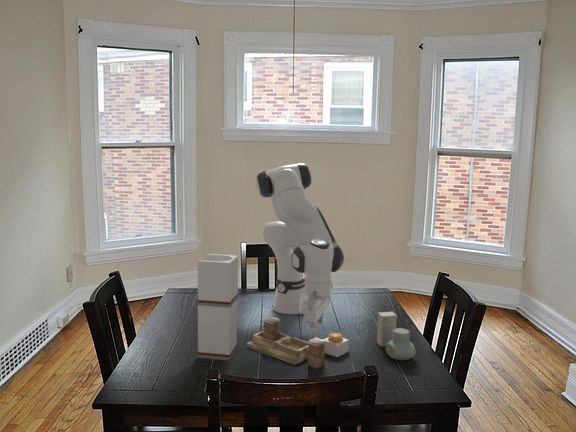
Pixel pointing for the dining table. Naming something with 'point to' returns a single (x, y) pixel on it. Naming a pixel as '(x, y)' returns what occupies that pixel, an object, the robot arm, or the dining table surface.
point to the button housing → (336, 347)
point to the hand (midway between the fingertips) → (316, 327)
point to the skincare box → (385, 327)
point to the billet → (316, 352)
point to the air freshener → (400, 345)
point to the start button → (335, 337)
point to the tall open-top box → (217, 306)
